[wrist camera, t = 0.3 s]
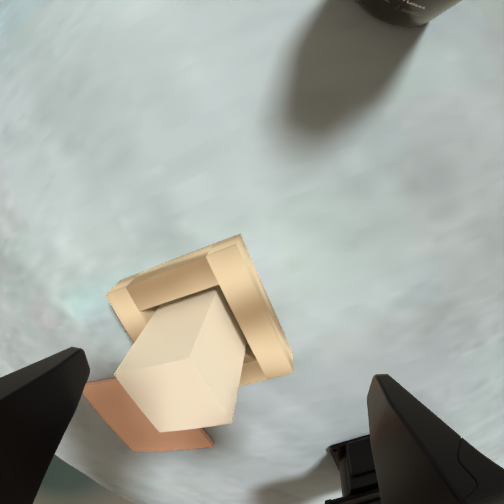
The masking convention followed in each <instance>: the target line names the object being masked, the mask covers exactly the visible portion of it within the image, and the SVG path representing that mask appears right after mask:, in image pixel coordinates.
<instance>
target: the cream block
mask: <svg viewBox="0 0 504 504" xmlns="http://www.w3.org/2000/svg"><path fill="white" fill-rule="evenodd" d="M246 344H247V340H246V338H245V336H244V334H243V332H242V330H241V328H240V326H239V324H238V322H237V320H236V318H235V316H234V314H233V312H232V310H231V308H230V306H229V304H228V302H227V300H226V298H225V296H224V294H223V292H222V290H221V287H220V285H216V286H213V287H210V288H207V289H205V290H202V291H199V292H196V293H193V294H190V295H187V296H184V297H181V298H178V299H175V300H172V301H169V302H166V303H163V304H160V306H159V307H158V309H157V310H156V311H155V313H154V314H153V316H152V317H151V319H150V320H149V322H148V323H147V325H146V326H145V328H144V329H143V331H142V332H141V334H140V335H139V337H138V338H137V340H136V341H135V343H134V344H133V346H132V347H131V349H130V350H129V352H128V353H127V355H126V356H125V358H124V359H123V361H122V362H121V364H120V365H119V367H118V368H117V370H116V371H115V373H114V375H115V377H116V378H117V380H118V381H119V382H120V384H121V385H122V386H123V388H124V389H125V390H126V392H127V393H128V394H129V396H130V397H131V398H132V399H133V401H134V402H135V403H136V405H137V406H138V407H139V408H140V410H141V411H142V412H143V413H144V414H145V416H146V417H147V418H148V419H149V421H150V422H151V423H152V424H153V425H154V426H155V428H156V429H157V430H158V431H159V432H170V431H179V430H188V429H196V428H204V427H211V426H217V425H224V424H230V423H232V421H233V415H234V410H235V405H236V399H237V394H238V388H239V383H240V377H241V372H242V366H243V360H244V355H245V349H246Z"/></svg>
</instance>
